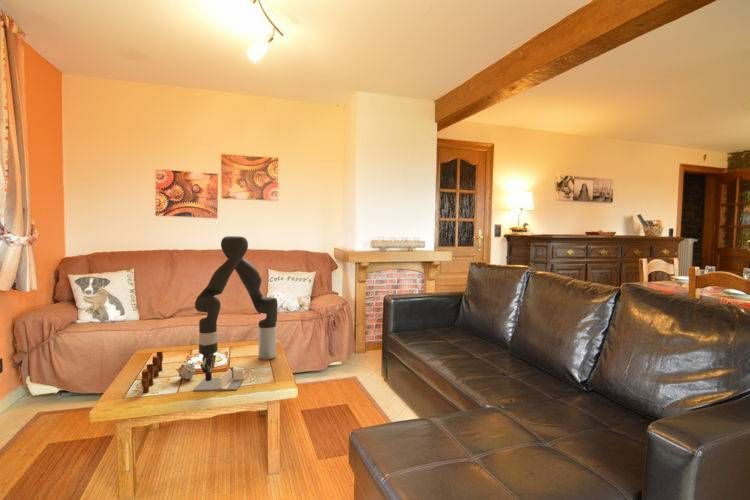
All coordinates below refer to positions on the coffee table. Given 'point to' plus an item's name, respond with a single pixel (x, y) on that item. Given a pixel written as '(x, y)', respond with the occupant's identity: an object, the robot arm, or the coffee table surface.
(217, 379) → the card
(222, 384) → the hinged panel
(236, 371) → the fixed panel
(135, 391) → the coffee table surface
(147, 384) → the fence
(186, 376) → the grey spiky ball
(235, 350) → the coffee table surface
